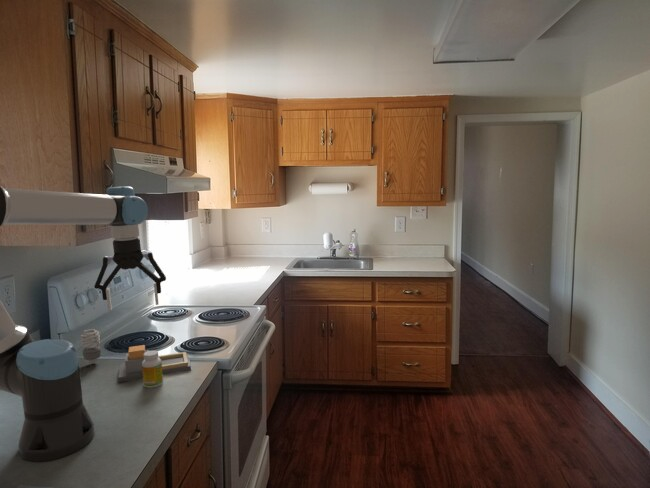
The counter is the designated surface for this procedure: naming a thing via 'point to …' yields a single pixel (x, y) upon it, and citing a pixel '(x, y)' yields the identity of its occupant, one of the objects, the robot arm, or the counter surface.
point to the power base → (169, 362)
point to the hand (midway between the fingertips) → (134, 306)
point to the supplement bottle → (152, 370)
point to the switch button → (136, 352)
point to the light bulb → (93, 351)
